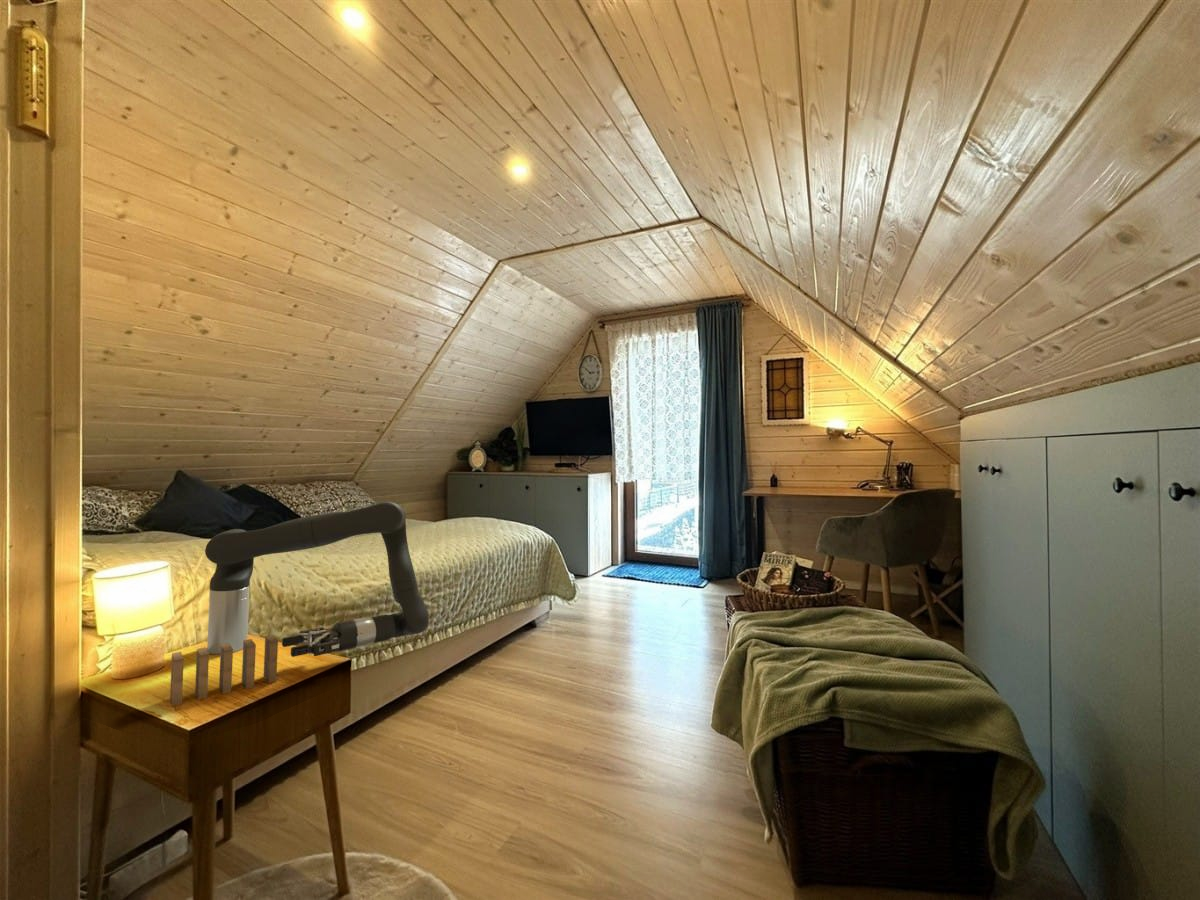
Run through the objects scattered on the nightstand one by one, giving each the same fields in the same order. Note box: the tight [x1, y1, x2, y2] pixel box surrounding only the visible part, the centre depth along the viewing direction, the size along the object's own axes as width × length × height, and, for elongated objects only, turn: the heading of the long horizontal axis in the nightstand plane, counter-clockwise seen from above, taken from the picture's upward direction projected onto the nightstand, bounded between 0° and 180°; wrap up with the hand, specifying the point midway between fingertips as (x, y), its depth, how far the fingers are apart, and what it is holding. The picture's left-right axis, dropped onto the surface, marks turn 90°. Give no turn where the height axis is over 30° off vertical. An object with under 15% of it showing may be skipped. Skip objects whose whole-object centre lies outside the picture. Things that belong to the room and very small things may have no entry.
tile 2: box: [241, 638, 257, 690], centre depth 126 cm, size 5×2×10 cm, turn 44°
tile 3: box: [218, 643, 234, 695], centre depth 123 cm, size 5×2×10 cm, turn 44°
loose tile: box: [263, 634, 279, 684], centre depth 130 cm, size 5×2×10 cm, turn 45°
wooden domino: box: [194, 646, 210, 701], centre depth 120 cm, size 5×2×10 cm, turn 44°
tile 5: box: [169, 651, 185, 707], centre depth 117 cm, size 5×2×10 cm, turn 44°
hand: (286, 647), depth 132 cm, fingers open, 8 cm apart
